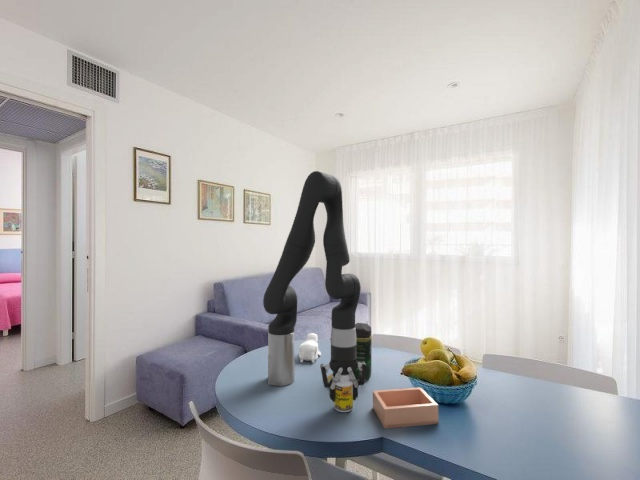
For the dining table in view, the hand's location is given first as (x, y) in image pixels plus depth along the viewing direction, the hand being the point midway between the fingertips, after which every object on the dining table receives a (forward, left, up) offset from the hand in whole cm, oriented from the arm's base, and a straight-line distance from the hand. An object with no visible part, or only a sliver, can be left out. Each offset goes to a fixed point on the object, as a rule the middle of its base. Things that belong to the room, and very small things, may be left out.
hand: (343, 399), depth 88 cm
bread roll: (+2, +15, -3) cm, 15 cm away
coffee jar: (+11, +21, -3) cm, 24 cm away
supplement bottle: (0, 0, -3) cm, 3 cm away
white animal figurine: (-5, +42, -3) cm, 42 cm away
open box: (+16, -6, -3) cm, 17 cm away
